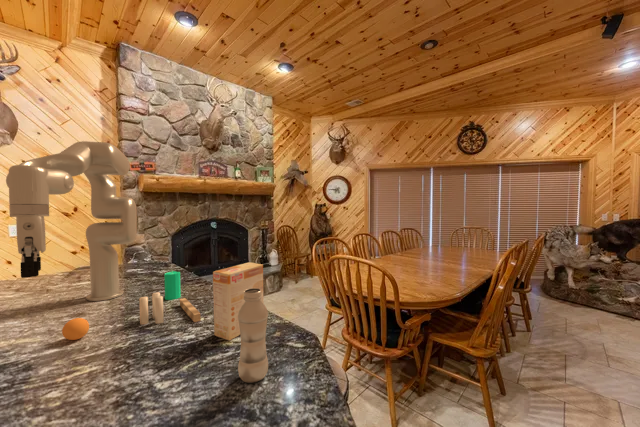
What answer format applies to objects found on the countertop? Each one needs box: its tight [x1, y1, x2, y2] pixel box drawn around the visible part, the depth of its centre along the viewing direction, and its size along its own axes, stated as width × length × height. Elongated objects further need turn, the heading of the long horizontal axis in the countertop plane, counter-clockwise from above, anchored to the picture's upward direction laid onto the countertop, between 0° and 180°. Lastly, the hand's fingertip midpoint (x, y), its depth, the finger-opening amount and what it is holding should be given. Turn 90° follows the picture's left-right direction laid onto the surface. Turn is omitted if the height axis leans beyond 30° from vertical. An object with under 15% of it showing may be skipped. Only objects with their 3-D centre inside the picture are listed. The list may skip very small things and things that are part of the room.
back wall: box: [179, 297, 201, 323], centre depth 102 cm, size 20×2×2 cm, turn 39°
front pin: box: [138, 296, 150, 325], centre depth 93 cm, size 2×2×8 cm
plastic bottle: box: [237, 288, 269, 384], centre depth 63 cm, size 6×7×20 cm
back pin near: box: [154, 295, 165, 325], centre depth 93 cm, size 2×2×8 cm
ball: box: [61, 317, 90, 341], centre depth 82 cm, size 6×6×6 cm
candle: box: [163, 270, 182, 301], centre depth 118 cm, size 6×6×12 cm
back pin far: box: [151, 291, 161, 320], centre depth 97 cm, size 2×2×8 cm
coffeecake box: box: [212, 262, 265, 341], centre depth 88 cm, size 15×7×20 cm, turn 149°
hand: (31, 274), depth 77 cm, fingers open, 9 cm apart
